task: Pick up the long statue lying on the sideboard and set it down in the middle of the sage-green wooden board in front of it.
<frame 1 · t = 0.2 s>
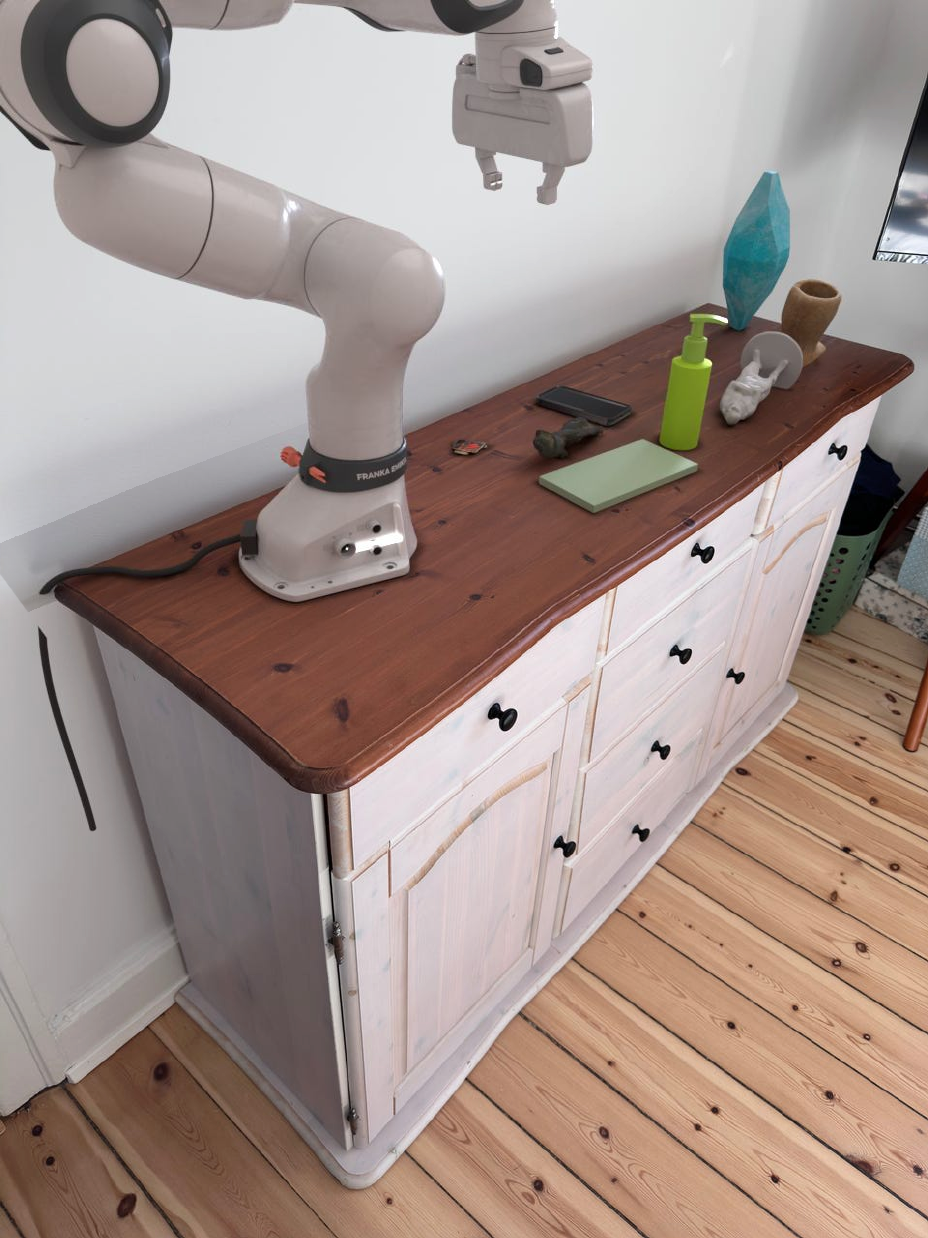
hand: (519, 195, 108), 39 cm above the sideboard top, tool pointing down, fingers open, 8 cm apart
soap dispenser: (681, 444, 146), on the sideboard top
statue: (564, 455, 141), on the sideboard top
stone cup: (794, 361, 179), on the sideboard top
board: (619, 477, 135), on the sideboard top
crystal: (740, 328, 195), on the sideboard top
matchbox: (467, 449, 142), on the sideboard top
male figure: (746, 404, 160), on the sideboard top
phone: (582, 409, 156), on the sideboard top
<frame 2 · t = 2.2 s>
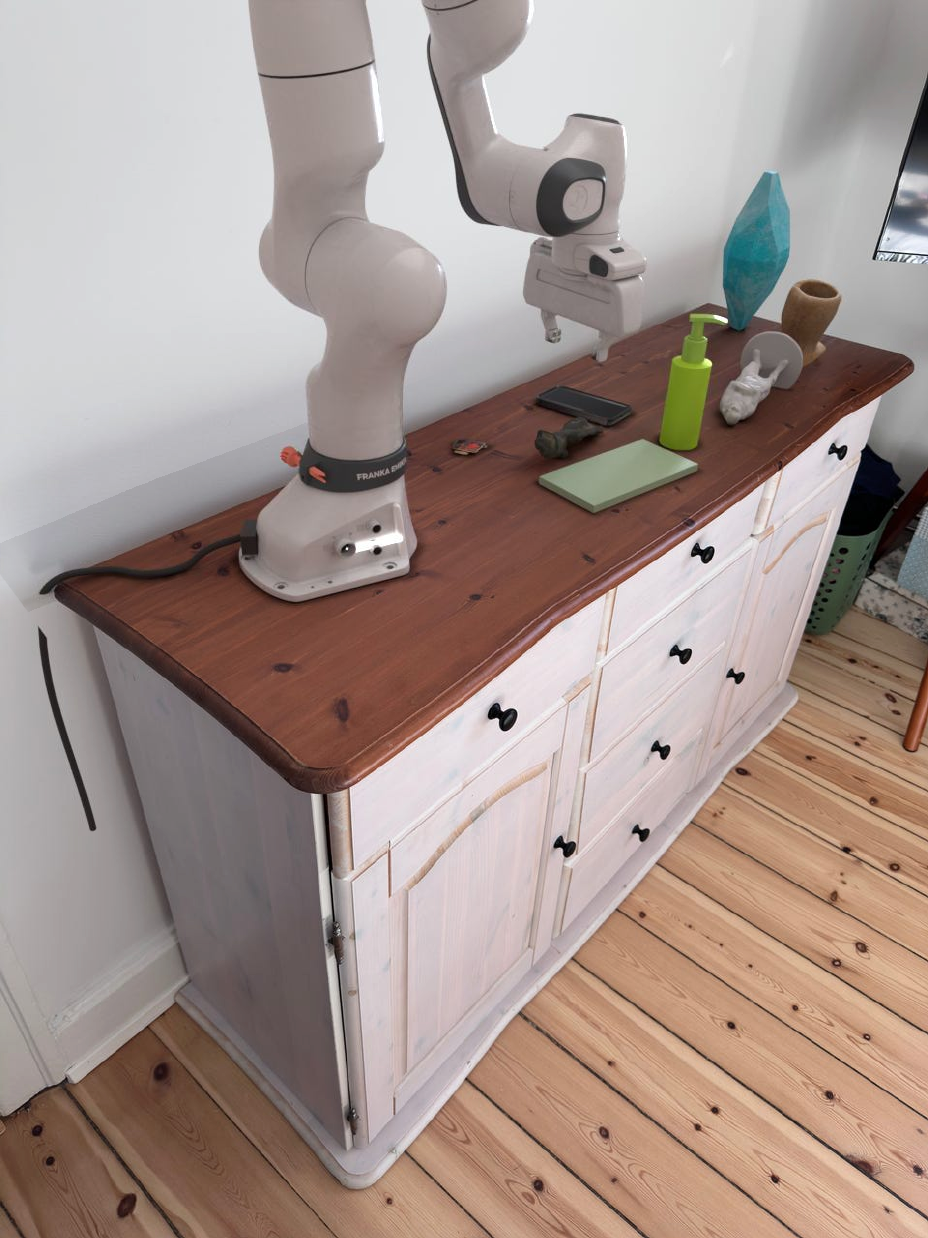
hand: (575, 350, 132), 16 cm above the sideboard top, tool pointing down, fingers open, 8 cm apart
nothing on the sideboard top moved.
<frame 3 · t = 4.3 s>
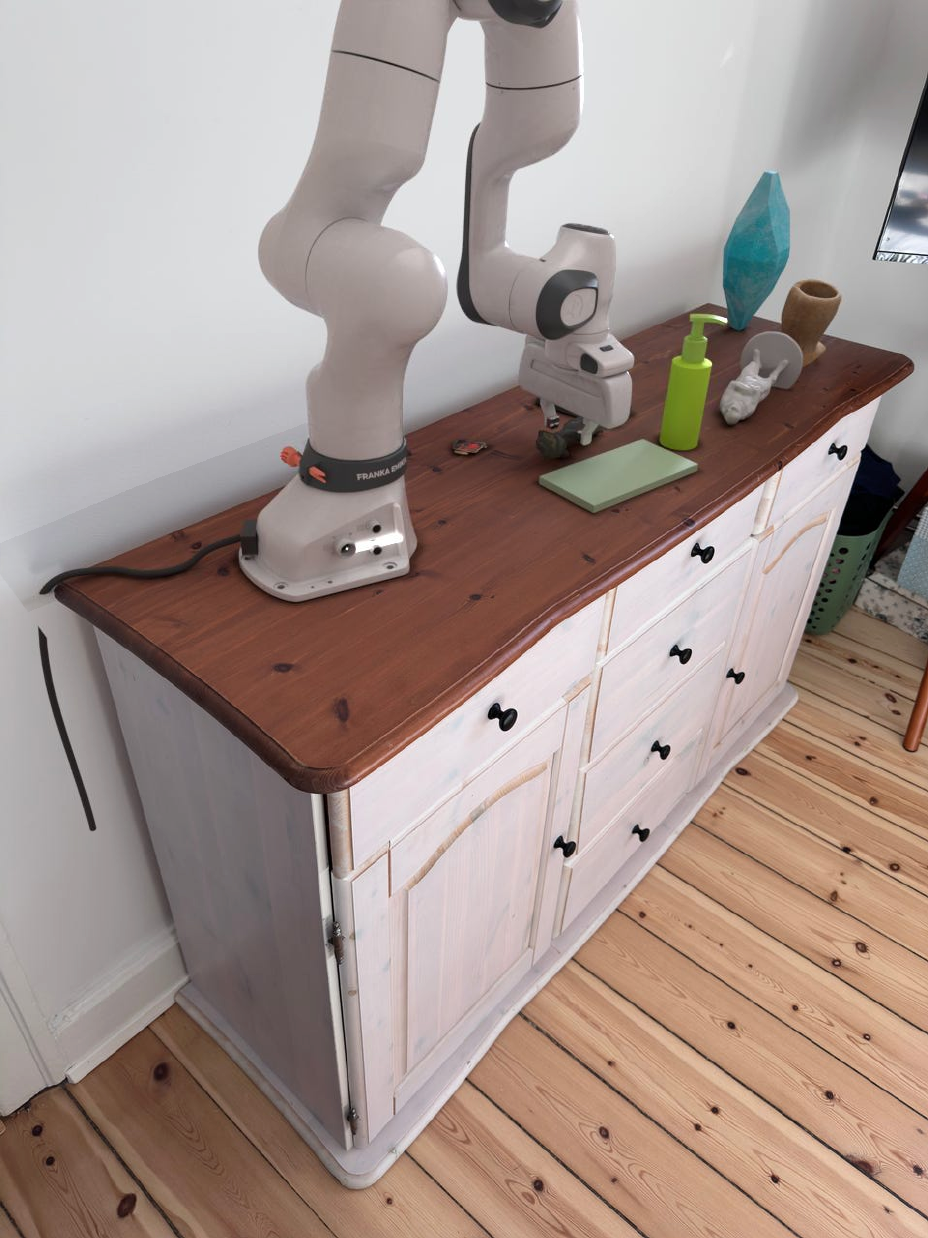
hand: (567, 435, 139), 3 cm above the sideboard top, tool pointing down, fingers closed on statue, 5 cm apart
statue: (565, 455, 141), on the sideboard top, touching gripper
everything else where it was.
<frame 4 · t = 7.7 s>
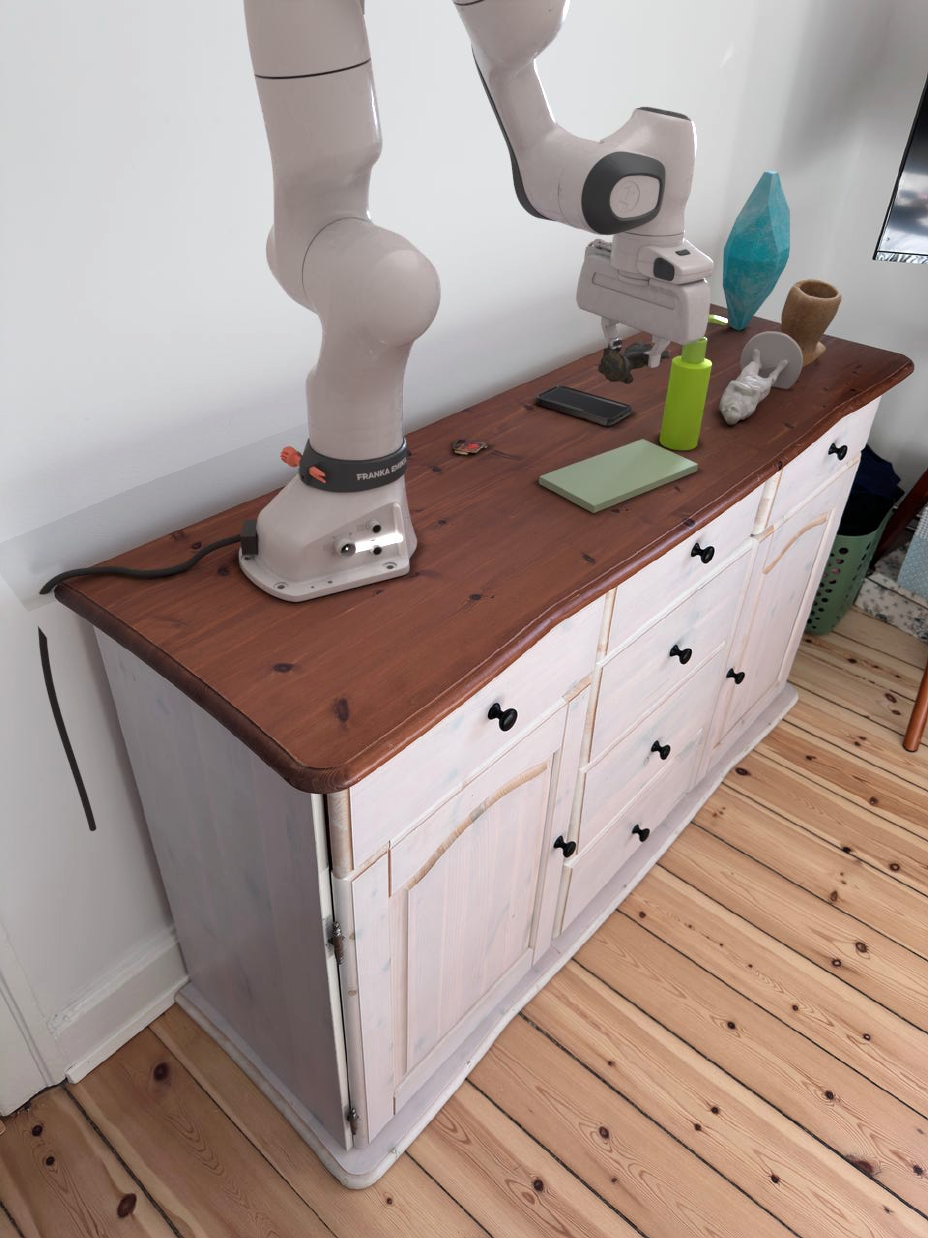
hand: (631, 358, 125), 18 cm above the sideboard top, tool pointing down, fingers closed on statue, 5 cm apart
statue: (628, 381, 127), point 14 cm above the sideboard top, touching gripper
everything else where it was.
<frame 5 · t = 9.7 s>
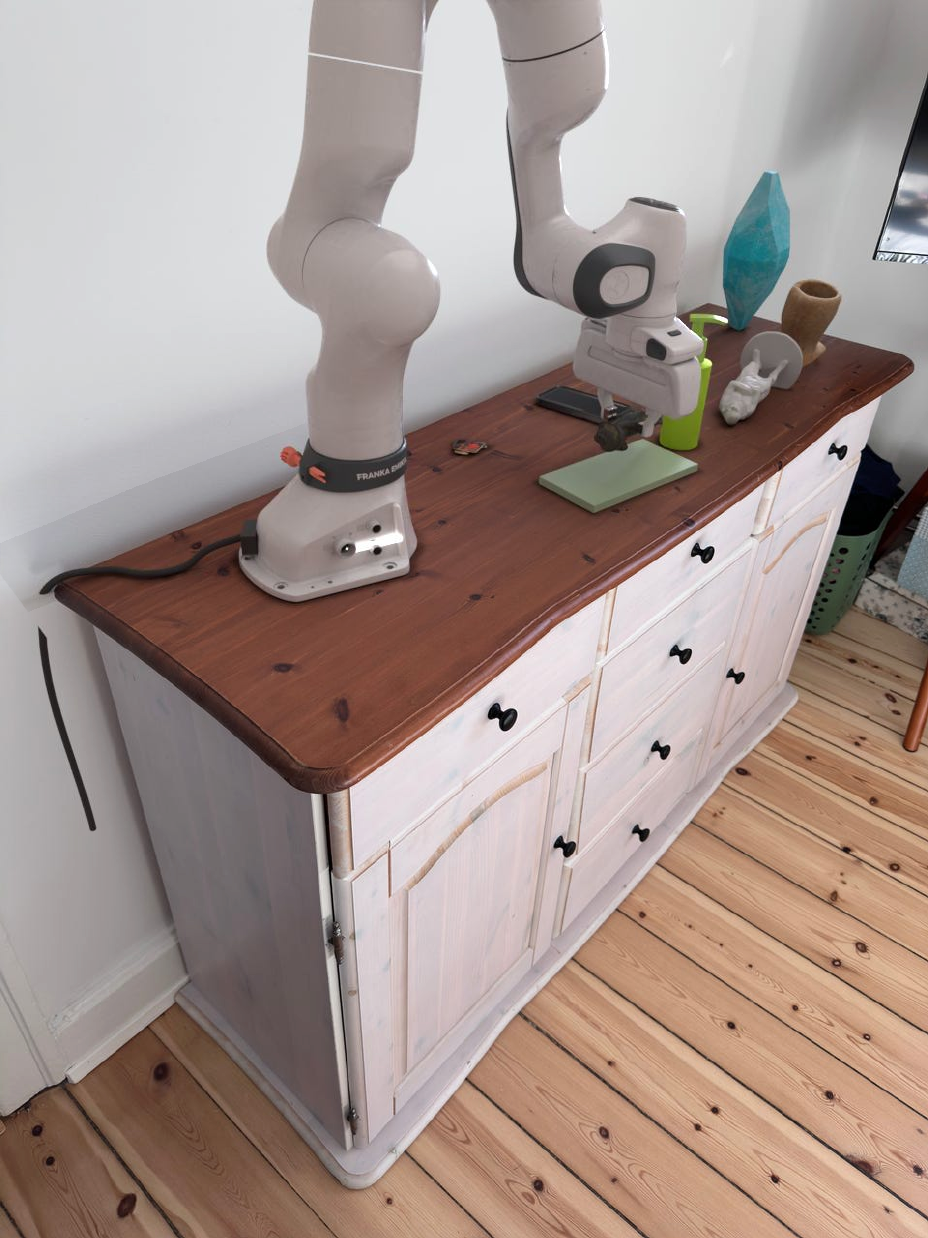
hand: (626, 427, 131), 8 cm above the sideboard top, tool pointing down, fingers closed on statue, 5 cm apart
statue: (623, 448, 133), point 5 cm above the sideboard top, touching gripper
everything else where it was.
when the fingers open (4 cm above the sideboard top, at t = 11.2 s): statue stays where it is, resting on board.
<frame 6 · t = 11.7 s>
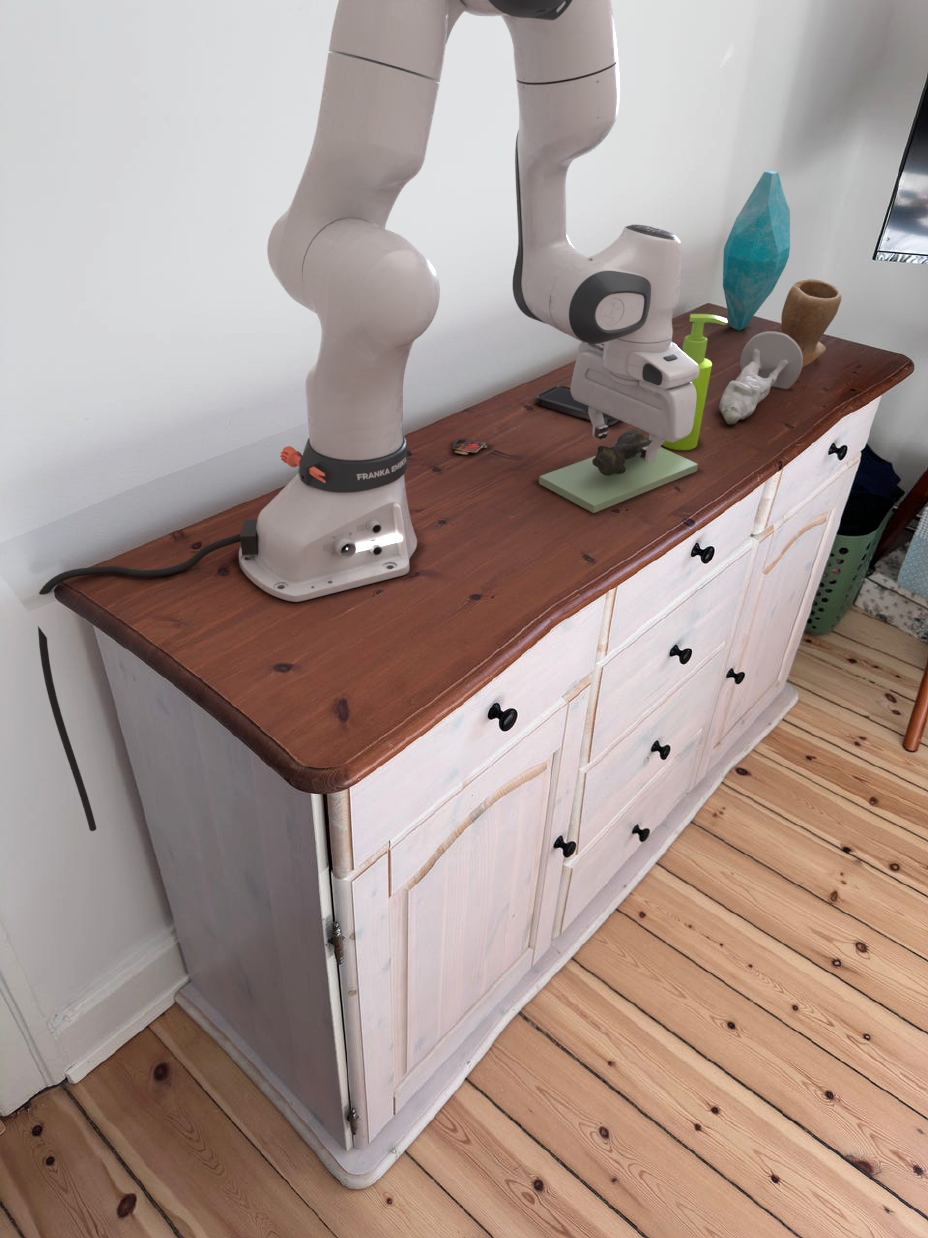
hand: (622, 448, 133), 5 cm above the sideboard top, tool pointing down, fingers open, 8 cm apart
statue: (621, 470, 135), point 1 cm above the sideboard top, touching board
everything else where it was.
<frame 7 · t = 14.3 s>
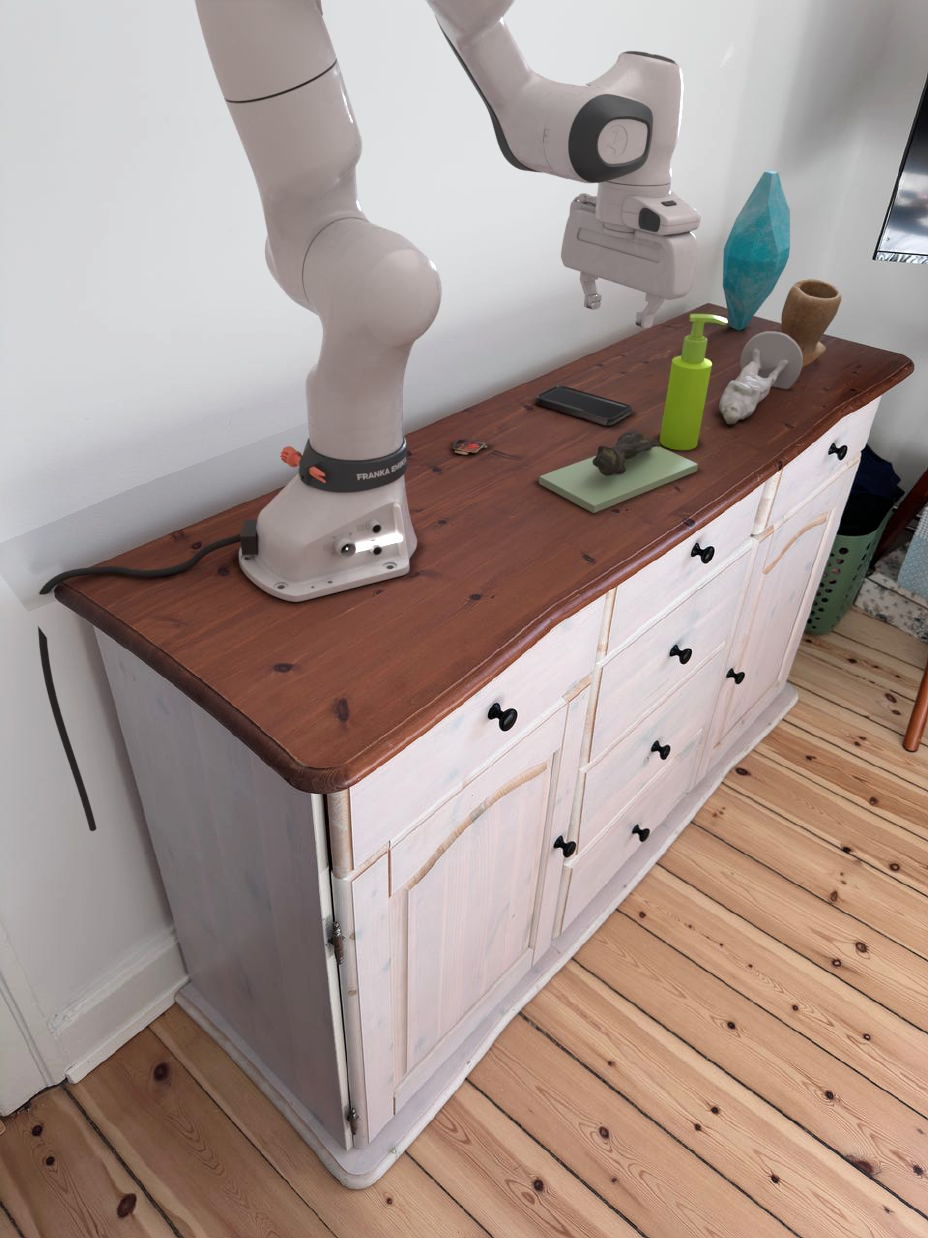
hand: (617, 316, 123), 23 cm above the sideboard top, tool pointing down, fingers open, 8 cm apart
nothing on the sideboard top moved.
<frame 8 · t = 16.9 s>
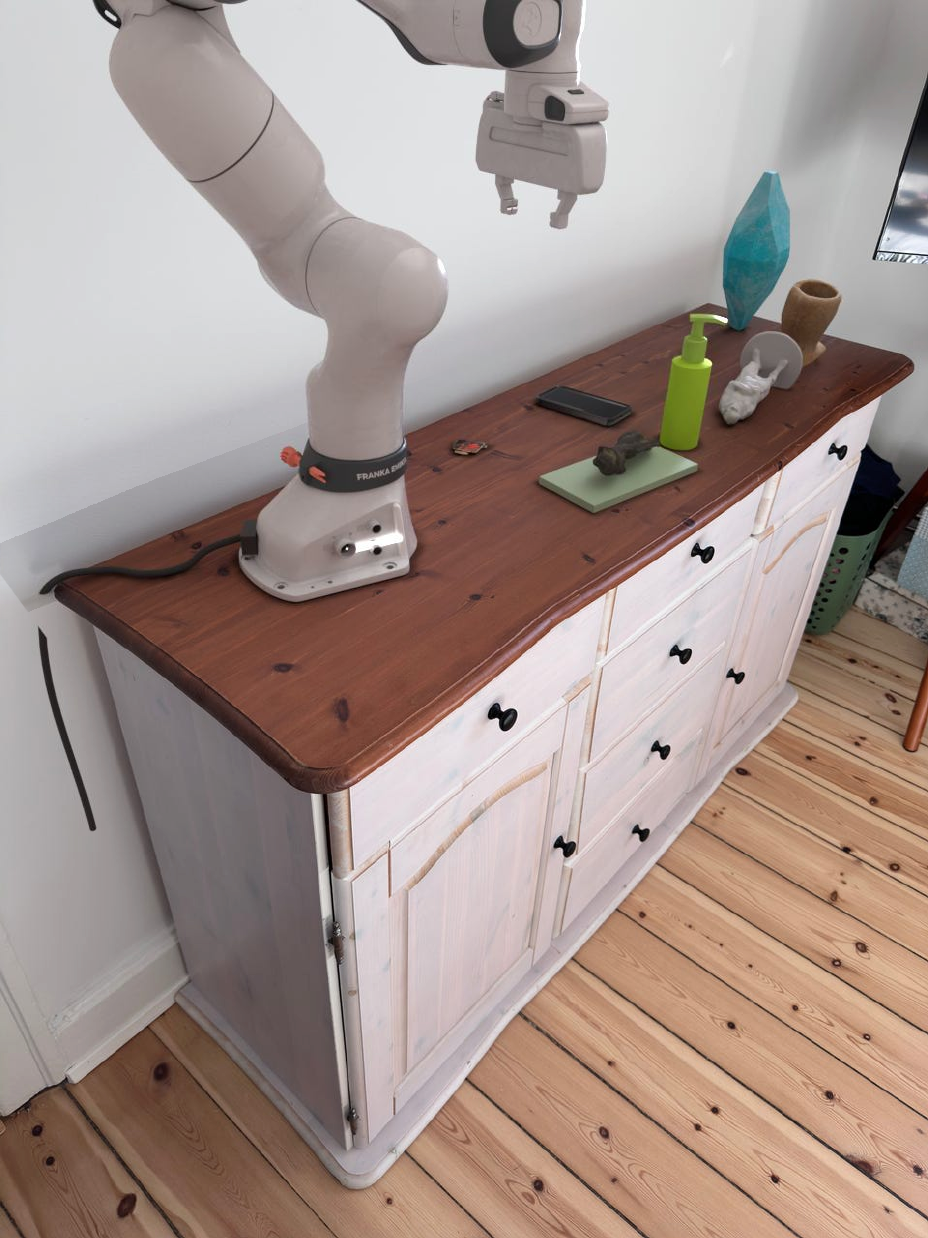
hand: (532, 220, 119), 34 cm above the sideboard top, tool pointing down, fingers open, 8 cm apart
nothing on the sideboard top moved.
at the end: statue inside the target area on the board (0.2 cm from its centre), point 1.0 cm above the board's base; the gripper is holding nothing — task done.
